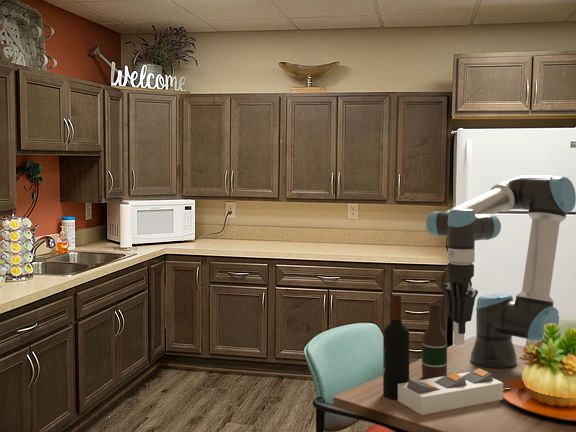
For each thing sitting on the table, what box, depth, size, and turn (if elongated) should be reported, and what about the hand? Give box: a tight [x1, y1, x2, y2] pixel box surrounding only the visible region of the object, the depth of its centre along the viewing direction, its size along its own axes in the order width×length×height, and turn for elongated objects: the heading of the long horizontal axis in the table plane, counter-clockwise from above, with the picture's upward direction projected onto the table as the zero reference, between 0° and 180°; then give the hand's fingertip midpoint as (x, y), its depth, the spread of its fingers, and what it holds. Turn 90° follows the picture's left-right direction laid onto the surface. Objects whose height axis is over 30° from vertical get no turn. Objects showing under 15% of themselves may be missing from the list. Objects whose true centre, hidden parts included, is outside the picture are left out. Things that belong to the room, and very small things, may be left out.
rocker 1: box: [407, 378, 439, 393], centre depth 191 cm, size 6×6×2 cm
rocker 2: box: [435, 372, 466, 389], centre depth 194 cm, size 6×6×2 cm
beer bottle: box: [421, 301, 448, 379], centre depth 214 cm, size 8×8×24 cm
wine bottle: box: [382, 294, 410, 401], centre depth 198 cm, size 8×8×30 cm
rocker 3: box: [462, 367, 493, 384], centre depth 198 cm, size 6×6×2 cm
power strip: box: [397, 371, 513, 416], centre depth 196 cm, size 36×12×5 cm, turn 113°
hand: (458, 343), depth 194 cm, fingers closed
